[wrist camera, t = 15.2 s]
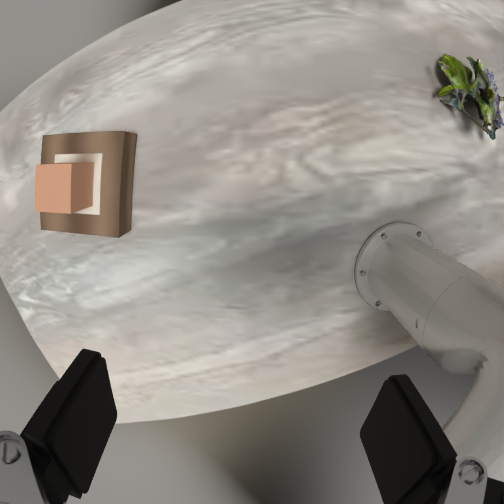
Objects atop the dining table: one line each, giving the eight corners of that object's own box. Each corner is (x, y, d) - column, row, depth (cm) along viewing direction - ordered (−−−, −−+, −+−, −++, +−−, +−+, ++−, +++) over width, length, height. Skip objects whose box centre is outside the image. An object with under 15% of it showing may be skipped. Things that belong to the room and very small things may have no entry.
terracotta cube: (94, 162, 29) (71, 163, 24) (92, 205, 30) (70, 213, 26) (60, 162, 29) (36, 164, 24) (59, 204, 30) (35, 211, 25)
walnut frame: (137, 134, 32) (124, 131, 28) (131, 229, 36) (118, 238, 32) (59, 136, 31) (42, 135, 27) (56, 223, 35) (40, 229, 31)
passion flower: (454, 105, 36) (510, 144, 28) (414, 114, 35) (477, 158, 27) (461, 45, 27) (526, 78, 20) (419, 43, 26) (496, 77, 19)
